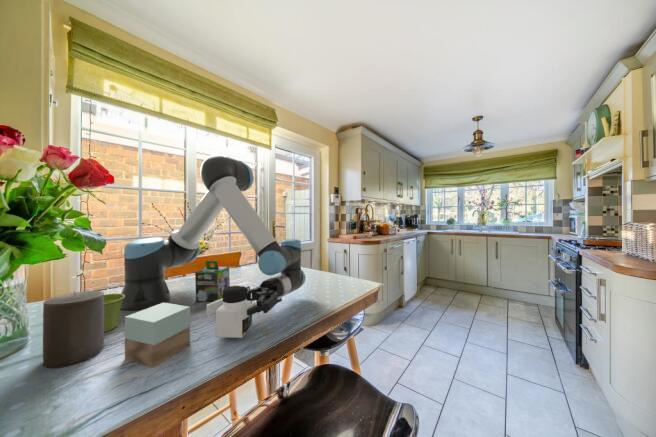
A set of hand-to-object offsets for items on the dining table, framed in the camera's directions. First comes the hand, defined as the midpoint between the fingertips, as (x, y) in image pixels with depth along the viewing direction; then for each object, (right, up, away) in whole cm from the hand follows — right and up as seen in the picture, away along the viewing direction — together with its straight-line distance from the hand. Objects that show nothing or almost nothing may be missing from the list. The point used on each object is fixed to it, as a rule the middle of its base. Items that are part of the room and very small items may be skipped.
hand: (221, 313), depth 59 cm
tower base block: (-13, -8, -3) cm, 16 cm away
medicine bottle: (+2, -7, +4) cm, 8 cm away
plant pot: (-37, -8, +8) cm, 39 cm away
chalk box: (-18, -7, +33) cm, 38 cm away
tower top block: (-13, -3, -3) cm, 14 cm away
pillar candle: (-32, -8, -4) cm, 33 cm away
